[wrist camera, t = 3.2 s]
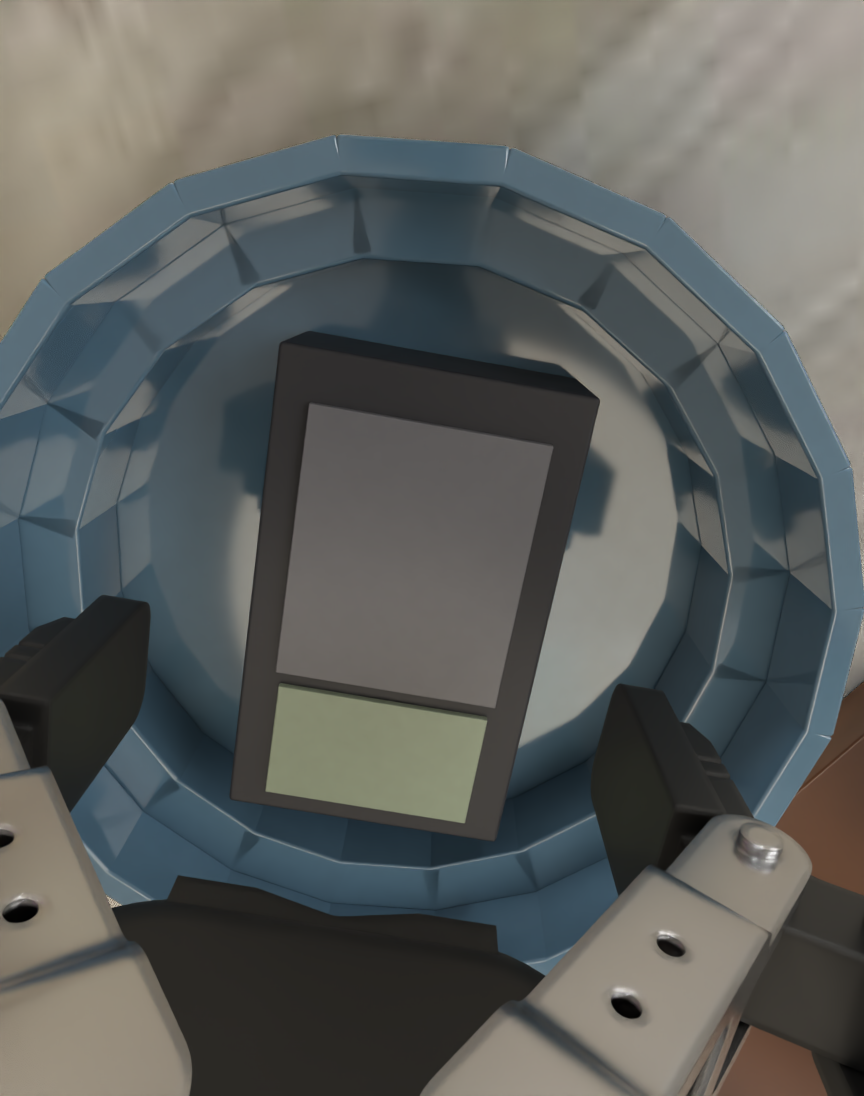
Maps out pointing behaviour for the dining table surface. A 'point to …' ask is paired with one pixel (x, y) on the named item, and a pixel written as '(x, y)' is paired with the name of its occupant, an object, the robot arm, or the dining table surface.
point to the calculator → (403, 580)
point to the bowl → (592, 546)
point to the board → (838, 858)
